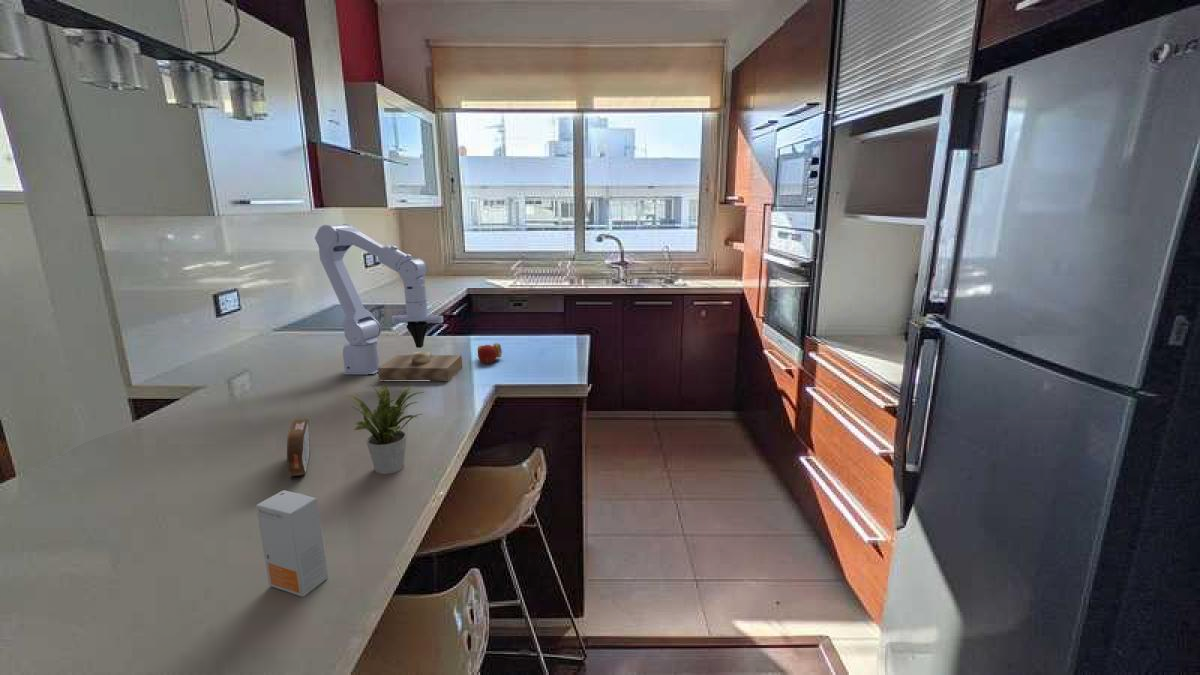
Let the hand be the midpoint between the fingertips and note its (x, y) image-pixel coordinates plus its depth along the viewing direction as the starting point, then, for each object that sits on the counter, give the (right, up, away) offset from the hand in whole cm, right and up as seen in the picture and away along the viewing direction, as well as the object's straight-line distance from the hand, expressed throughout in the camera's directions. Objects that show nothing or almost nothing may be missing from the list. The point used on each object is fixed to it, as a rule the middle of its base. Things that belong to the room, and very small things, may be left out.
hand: (419, 346), depth 160 cm
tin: (-4, -22, -55) cm, 60 cm away
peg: (0, -8, +2) cm, 8 cm away
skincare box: (+13, -30, -88) cm, 94 cm away
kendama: (+17, -4, +20) cm, 26 cm away
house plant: (+14, -22, -57) cm, 63 cm away
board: (0, -8, +2) cm, 8 cm away
